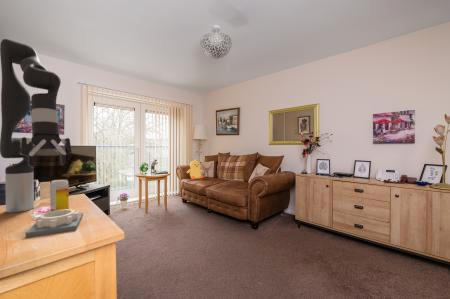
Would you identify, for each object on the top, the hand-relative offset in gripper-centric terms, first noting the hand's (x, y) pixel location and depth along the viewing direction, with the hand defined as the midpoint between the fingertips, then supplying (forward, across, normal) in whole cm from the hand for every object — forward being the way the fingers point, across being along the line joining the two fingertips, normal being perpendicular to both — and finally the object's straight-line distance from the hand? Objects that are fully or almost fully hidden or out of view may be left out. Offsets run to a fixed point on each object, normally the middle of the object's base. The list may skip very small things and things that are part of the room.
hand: (48, 166), depth 75 cm
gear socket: (+22, -2, -2) cm, 23 cm away
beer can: (+21, -7, -14) cm, 26 cm away
